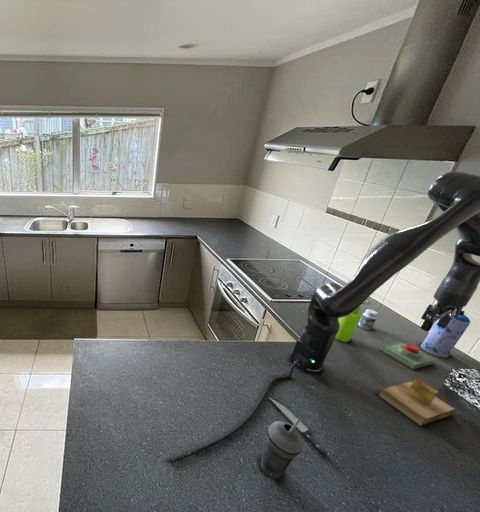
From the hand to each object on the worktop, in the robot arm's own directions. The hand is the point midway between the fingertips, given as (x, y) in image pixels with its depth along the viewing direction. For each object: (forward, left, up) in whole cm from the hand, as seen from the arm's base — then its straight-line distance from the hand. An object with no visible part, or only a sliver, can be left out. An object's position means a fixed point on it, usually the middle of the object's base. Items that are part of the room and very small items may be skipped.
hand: (432, 328), depth 102 cm
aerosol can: (+19, +3, -17) cm, 26 cm away
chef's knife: (-68, -9, -17) cm, 70 cm away
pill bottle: (+8, +22, -17) cm, 29 cm away
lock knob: (-24, -13, -14) cm, 30 cm away
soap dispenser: (-12, +18, -17) cm, 27 cm away
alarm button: (+2, +3, -13) cm, 14 cm away
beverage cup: (-86, -17, -17) cm, 89 cm away
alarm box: (+2, +3, -17) cm, 17 cm away
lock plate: (-24, -13, -17) cm, 32 cm away
